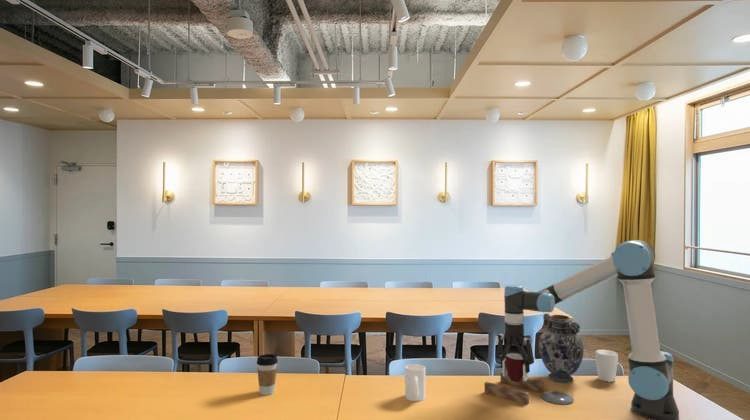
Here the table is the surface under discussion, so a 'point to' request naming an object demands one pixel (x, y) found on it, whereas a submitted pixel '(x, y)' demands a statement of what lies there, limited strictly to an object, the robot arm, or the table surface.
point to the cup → (606, 364)
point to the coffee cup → (267, 373)
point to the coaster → (557, 397)
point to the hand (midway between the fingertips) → (515, 377)
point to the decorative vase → (561, 347)
